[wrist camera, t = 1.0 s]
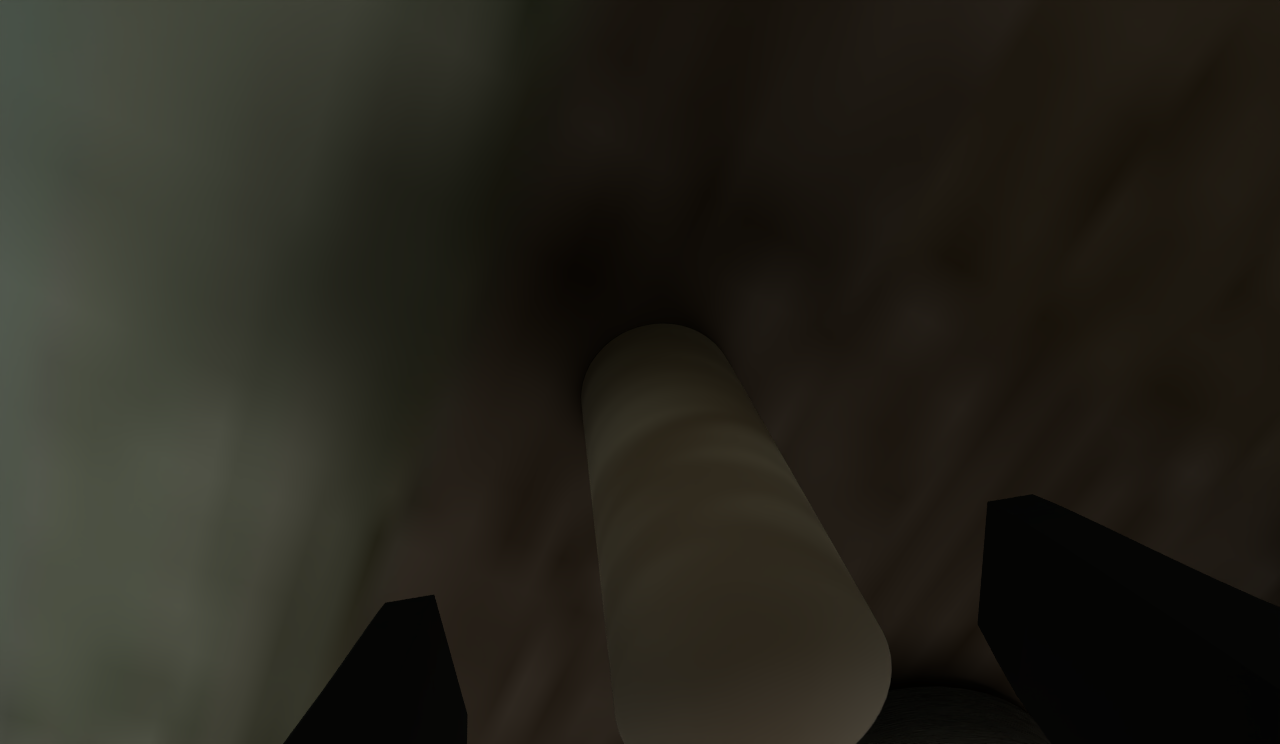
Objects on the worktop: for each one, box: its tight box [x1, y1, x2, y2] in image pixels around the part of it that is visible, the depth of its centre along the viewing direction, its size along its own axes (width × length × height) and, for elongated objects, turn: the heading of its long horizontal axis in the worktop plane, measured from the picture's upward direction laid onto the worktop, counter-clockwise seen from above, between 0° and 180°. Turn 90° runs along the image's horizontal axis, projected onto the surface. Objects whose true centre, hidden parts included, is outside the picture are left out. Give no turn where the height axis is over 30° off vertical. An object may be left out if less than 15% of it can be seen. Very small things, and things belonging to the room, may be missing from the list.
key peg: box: [581, 323, 892, 744], centre depth 13 cm, size 3×3×8 cm
